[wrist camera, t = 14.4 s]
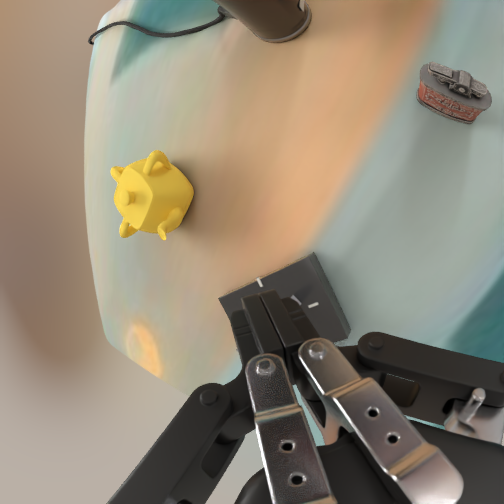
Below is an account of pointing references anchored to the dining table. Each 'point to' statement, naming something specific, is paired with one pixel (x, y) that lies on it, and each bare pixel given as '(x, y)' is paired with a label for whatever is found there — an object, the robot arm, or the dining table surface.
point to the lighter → (452, 93)
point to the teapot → (151, 195)
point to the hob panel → (299, 295)
